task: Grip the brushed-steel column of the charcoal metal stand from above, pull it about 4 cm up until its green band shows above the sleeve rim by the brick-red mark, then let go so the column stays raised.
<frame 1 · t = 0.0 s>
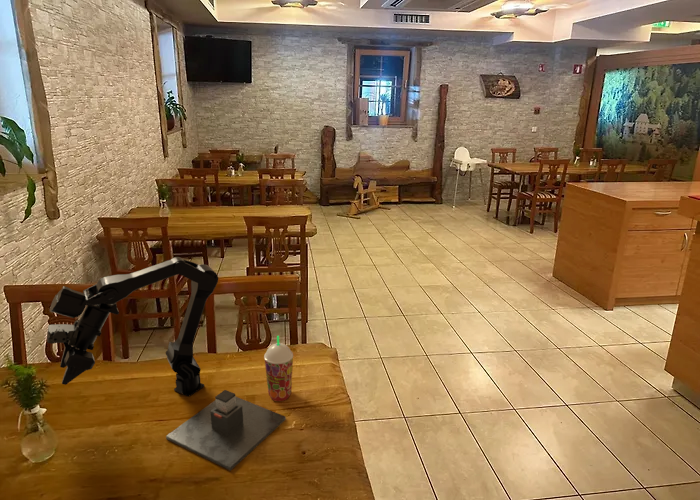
hand: (62, 375, 125), 15 cm above the table, tool tilted 35°, fingers open, 9 cm apart
column: (226, 410, 127), point 6 cm above the table, slide at 0.0 cm
smoothie: (280, 396, 143), on the table
stand base: (227, 429, 129), on the table
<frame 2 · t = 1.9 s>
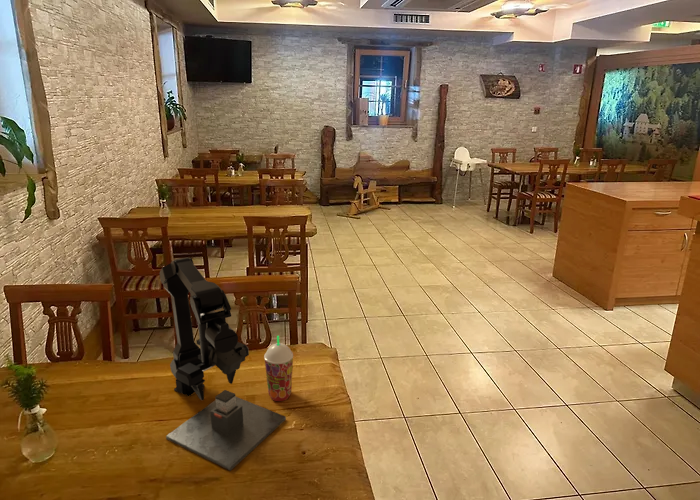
hand: (216, 391, 123), 13 cm above the table, tool pointing down, fingers open, 9 cm apart
nothing on the table moved.
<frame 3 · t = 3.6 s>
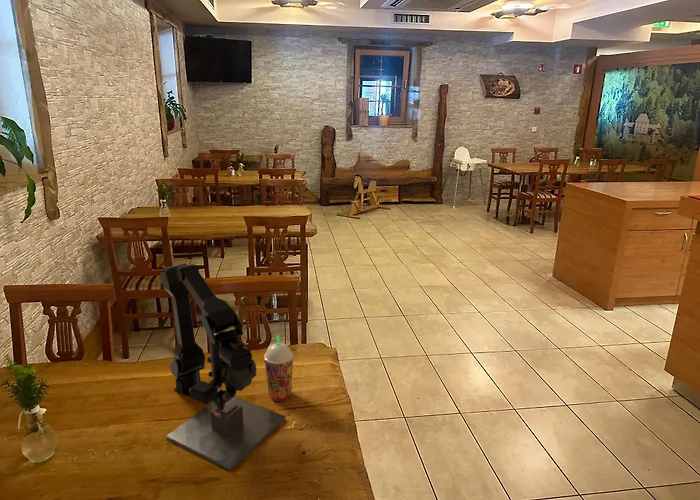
hand: (226, 405, 126), 7 cm above the table, tool pointing down, fingers closed on column, 4 cm apart
column: (226, 410, 127), point 6 cm above the table, slide at 0.0 cm, touching gripper
everything else where it was.
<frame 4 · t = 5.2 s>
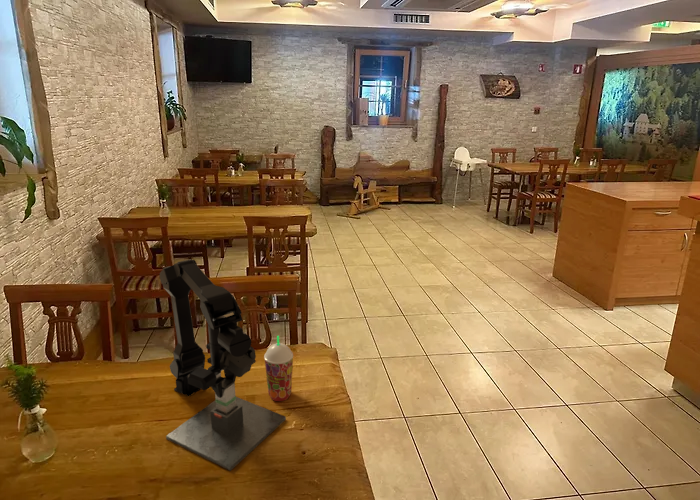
hand: (225, 393, 125), 11 cm above the table, tool pointing down, fingers closed on column, 4 cm apart
column: (225, 397, 126), point 10 cm above the table, slide at 3.9 cm, touching gripper
everything else where it was.
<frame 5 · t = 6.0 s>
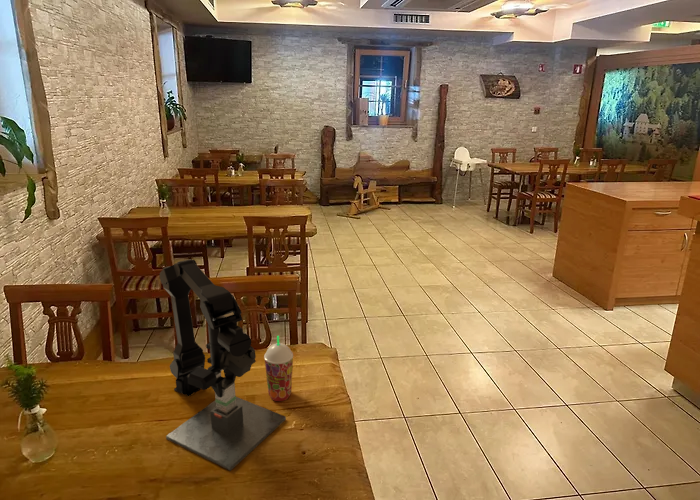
hand: (225, 393, 125), 11 cm above the table, tool pointing down, fingers closed on column, 3 cm apart
column: (225, 397, 126), point 10 cm above the table, slide at 3.9 cm, touching gripper
everything else where it was.
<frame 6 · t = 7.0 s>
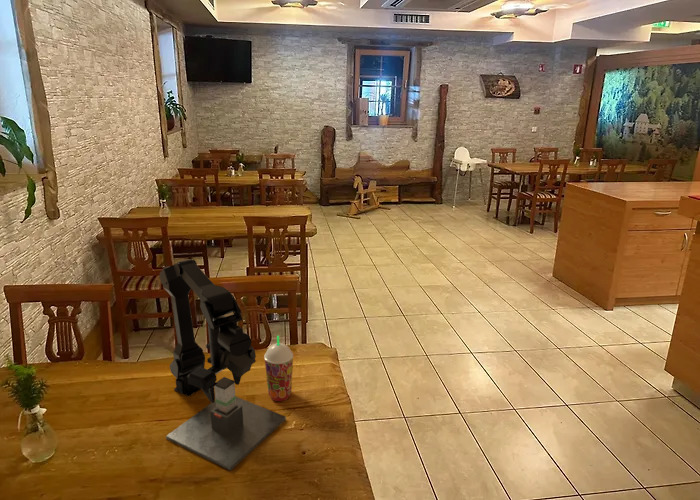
hand: (225, 393, 125), 11 cm above the table, tool pointing down, fingers open, 9 cm apart
column: (225, 397, 126), point 10 cm above the table, slide at 3.9 cm
everything else where it was.
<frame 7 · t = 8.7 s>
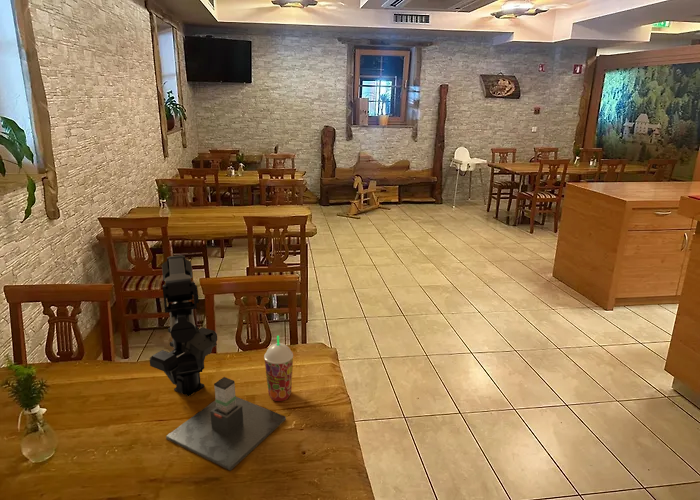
hand: (188, 375, 130), 13 cm above the table, tool pointing down, fingers open, 9 cm apart
nothing on the table moved.
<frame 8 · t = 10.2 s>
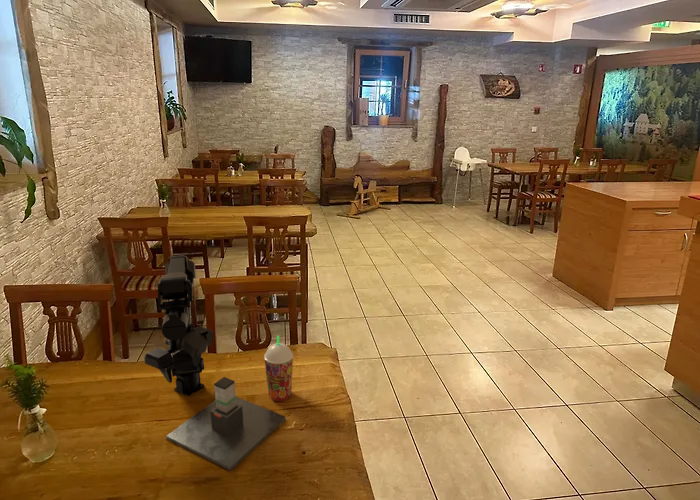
hand: (183, 374, 130), 13 cm above the table, tool pointing down, fingers open, 9 cm apart
nothing on the table moved.
at the end: column slide at 3.9 cm; the gripper is holding nothing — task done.
